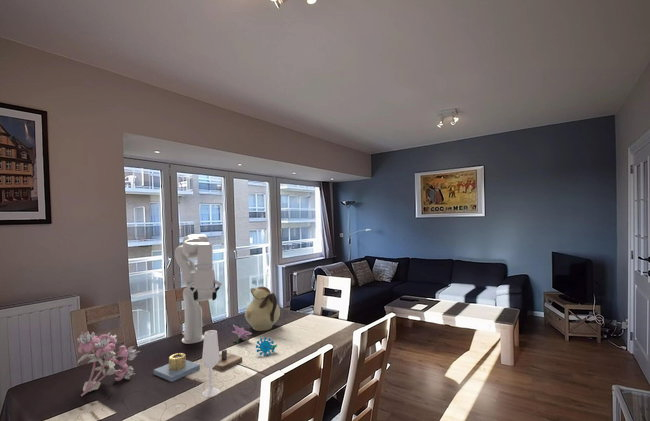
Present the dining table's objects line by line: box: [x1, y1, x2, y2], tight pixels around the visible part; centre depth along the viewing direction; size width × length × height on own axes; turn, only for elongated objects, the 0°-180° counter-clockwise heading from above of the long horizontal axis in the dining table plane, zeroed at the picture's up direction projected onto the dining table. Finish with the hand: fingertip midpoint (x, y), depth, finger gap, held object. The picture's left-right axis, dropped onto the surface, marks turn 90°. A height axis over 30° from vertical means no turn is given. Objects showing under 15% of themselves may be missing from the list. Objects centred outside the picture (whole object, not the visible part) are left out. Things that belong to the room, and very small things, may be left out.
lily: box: [231, 324, 253, 345], centre depth 184 cm, size 12×12×10 cm
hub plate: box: [153, 356, 201, 383], centre depth 147 cm, size 14×14×6 cm
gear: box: [255, 336, 278, 357], centre depth 167 cm, size 11×6×10 cm
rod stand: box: [212, 349, 243, 372], centre depth 155 cm, size 12×12×6 cm
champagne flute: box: [201, 329, 221, 398], centre depth 129 cm, size 7×7×24 cm
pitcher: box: [244, 286, 281, 332], centre depth 208 cm, size 22×24×25 cm
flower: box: [77, 330, 141, 397], centre depth 136 cm, size 20×22×25 cm
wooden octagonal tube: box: [168, 352, 187, 370], centre depth 147 cm, size 7×7×5 cm
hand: (205, 299), depth 167 cm, fingers open, 9 cm apart
